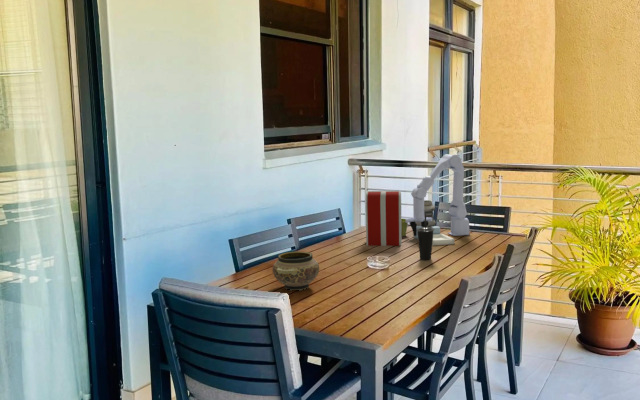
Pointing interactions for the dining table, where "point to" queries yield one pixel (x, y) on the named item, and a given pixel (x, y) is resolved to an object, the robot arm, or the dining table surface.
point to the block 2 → (436, 229)
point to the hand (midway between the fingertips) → (419, 235)
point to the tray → (442, 239)
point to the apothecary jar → (428, 213)
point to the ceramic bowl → (296, 270)
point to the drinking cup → (425, 242)
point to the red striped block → (383, 218)
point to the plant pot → (403, 227)
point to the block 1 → (417, 232)
